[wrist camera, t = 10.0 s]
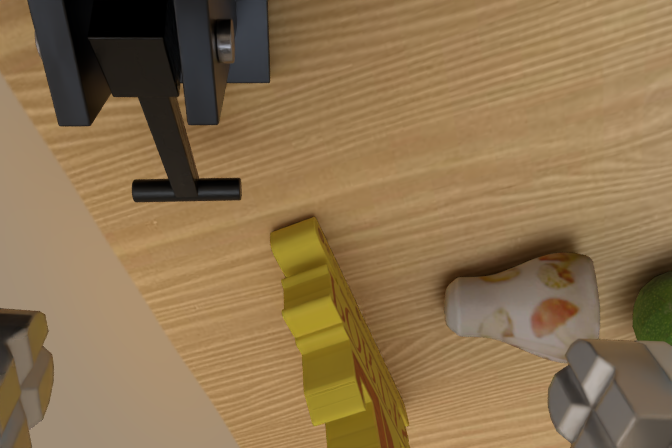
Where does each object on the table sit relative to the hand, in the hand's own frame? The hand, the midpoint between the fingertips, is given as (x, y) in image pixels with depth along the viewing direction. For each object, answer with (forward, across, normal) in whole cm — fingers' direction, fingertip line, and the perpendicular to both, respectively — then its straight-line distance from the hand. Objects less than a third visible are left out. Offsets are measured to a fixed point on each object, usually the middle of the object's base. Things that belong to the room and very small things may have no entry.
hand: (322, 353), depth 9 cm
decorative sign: (+24, -7, +22) cm, 33 cm away
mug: (+24, -17, +17) cm, 34 cm away
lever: (+16, +5, +3) cm, 17 cm away
